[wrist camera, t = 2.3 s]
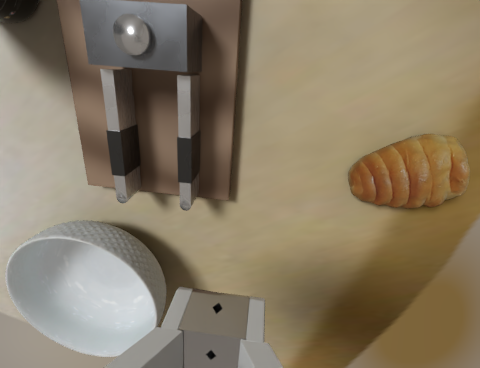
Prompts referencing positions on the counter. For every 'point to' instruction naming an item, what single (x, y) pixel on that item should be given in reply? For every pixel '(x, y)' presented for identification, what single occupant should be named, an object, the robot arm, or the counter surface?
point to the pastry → (412, 172)
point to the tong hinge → (142, 35)
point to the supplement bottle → (16, 10)
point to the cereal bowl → (87, 287)
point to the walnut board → (162, 103)
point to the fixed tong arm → (122, 131)
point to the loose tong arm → (188, 138)
